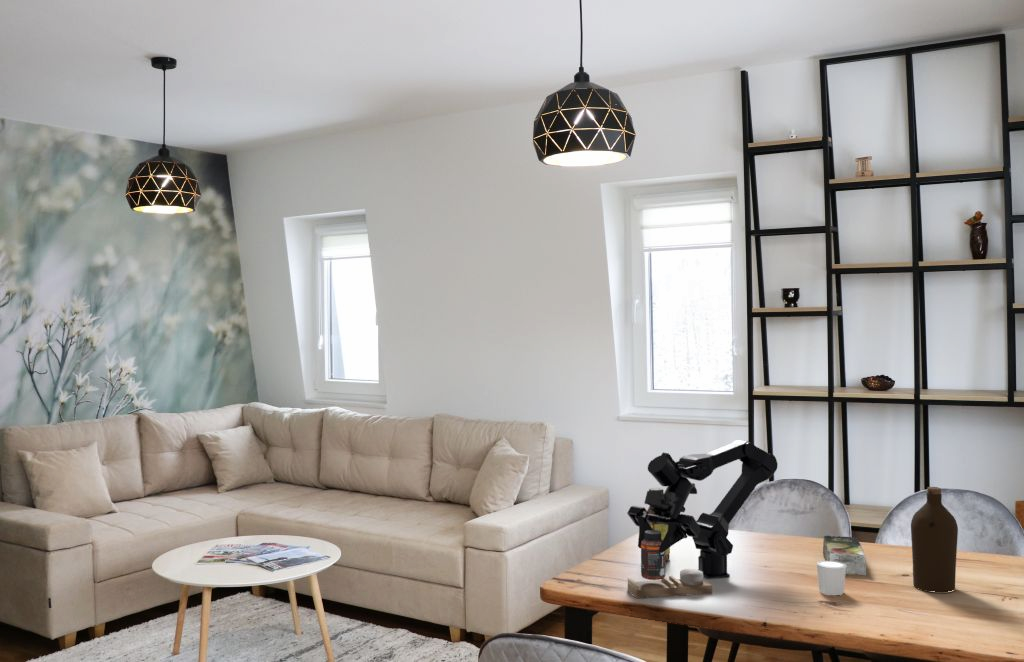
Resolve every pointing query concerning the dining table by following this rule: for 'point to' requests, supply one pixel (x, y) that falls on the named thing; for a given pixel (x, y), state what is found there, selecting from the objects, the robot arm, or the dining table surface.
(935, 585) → the olive oil
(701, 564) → the robot arm
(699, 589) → the wooden slotted rack
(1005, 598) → the dining table surface
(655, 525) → the sauce bottle
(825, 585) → the white cup
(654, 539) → the supplement bottle
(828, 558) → the juice carton
